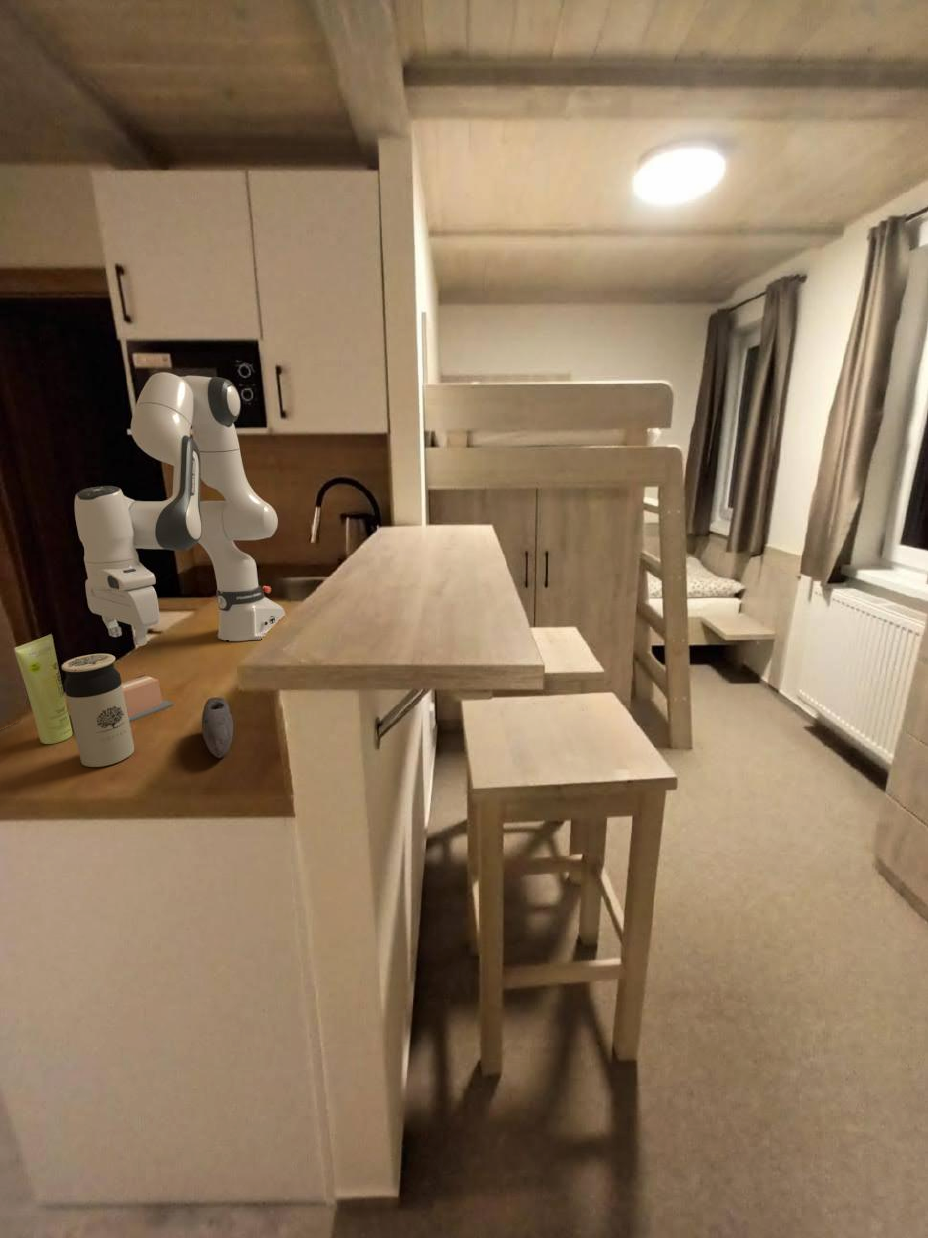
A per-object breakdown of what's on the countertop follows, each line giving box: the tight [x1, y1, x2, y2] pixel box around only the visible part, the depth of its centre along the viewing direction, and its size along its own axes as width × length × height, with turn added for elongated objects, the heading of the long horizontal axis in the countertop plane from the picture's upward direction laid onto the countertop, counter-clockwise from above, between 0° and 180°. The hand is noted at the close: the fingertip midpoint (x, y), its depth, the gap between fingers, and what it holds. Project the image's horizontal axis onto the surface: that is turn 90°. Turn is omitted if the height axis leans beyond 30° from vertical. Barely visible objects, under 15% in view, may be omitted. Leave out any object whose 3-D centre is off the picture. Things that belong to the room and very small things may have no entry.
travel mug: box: [61, 653, 135, 768], centre depth 93 cm, size 8×8×18 cm
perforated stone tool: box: [201, 696, 234, 759], centre depth 99 cm, size 15×5×7 cm, turn 23°
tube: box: [13, 633, 74, 745], centre depth 99 cm, size 6×5×20 cm
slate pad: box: [128, 698, 174, 723], centre depth 113 cm, size 10×8×1 cm
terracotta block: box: [122, 675, 163, 717], centre depth 113 cm, size 4×7×6 cm, turn 148°
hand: (128, 640), depth 110 cm, fingers open, 8 cm apart
